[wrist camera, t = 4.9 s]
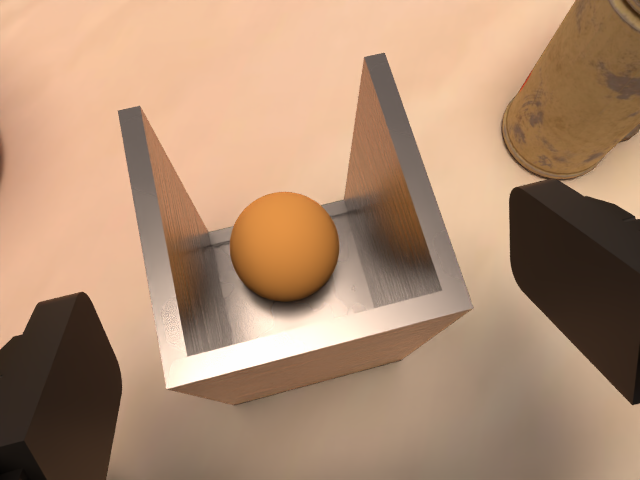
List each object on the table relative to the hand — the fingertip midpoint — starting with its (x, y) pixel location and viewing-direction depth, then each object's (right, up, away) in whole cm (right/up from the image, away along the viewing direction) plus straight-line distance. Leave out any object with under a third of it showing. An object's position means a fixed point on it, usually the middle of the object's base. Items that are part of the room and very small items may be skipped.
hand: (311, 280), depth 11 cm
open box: (-1, -1, +7) cm, 7 cm away
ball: (-1, +1, +5) cm, 5 cm away
